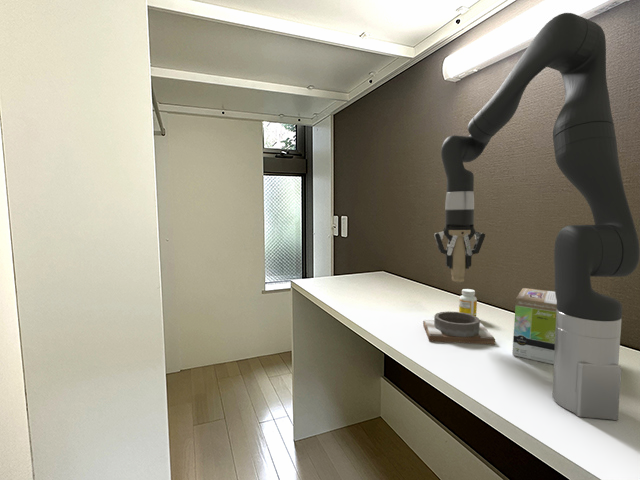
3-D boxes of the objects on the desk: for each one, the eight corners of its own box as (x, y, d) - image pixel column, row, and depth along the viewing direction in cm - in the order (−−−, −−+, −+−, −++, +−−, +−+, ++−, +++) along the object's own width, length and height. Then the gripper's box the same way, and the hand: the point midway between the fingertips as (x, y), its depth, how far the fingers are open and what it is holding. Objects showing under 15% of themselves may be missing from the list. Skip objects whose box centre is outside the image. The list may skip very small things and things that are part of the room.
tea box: (561, 367, 77) (564, 304, 76) (511, 356, 83) (513, 297, 82) (562, 345, 89) (565, 291, 88) (519, 337, 95) (521, 286, 94)
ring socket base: (494, 344, 90) (495, 326, 90) (429, 341, 93) (429, 323, 93) (480, 328, 103) (481, 312, 103) (423, 325, 106) (423, 310, 106)
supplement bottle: (464, 321, 110) (464, 292, 109) (455, 316, 115) (456, 288, 114) (479, 320, 110) (480, 291, 110) (470, 315, 116) (471, 288, 115)
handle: (472, 283, 95) (474, 229, 93) (450, 283, 94) (451, 230, 93) (465, 279, 99) (466, 229, 98) (443, 280, 99) (444, 229, 98)
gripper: (435, 208, 93) (434, 270, 94) (490, 207, 90) (488, 271, 92) (431, 208, 100) (430, 265, 102) (482, 208, 98) (480, 266, 99)
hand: (458, 267), depth 97 cm, fingers closed on handle, 4 cm apart
